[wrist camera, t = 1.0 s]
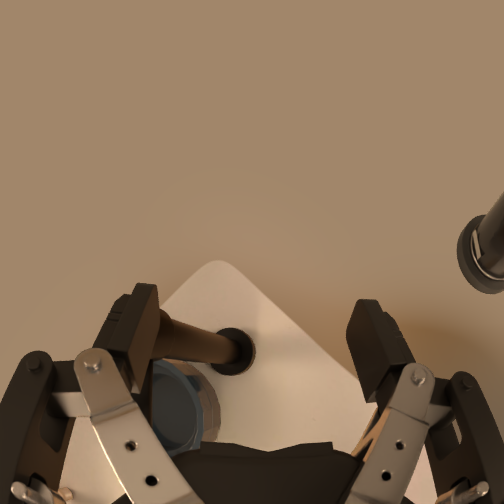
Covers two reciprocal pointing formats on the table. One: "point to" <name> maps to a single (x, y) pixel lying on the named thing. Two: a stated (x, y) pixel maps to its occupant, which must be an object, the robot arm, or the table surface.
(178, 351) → the base
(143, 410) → the spout
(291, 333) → the table surface
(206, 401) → the basin
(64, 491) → the lightbulb
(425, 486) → the table surface
